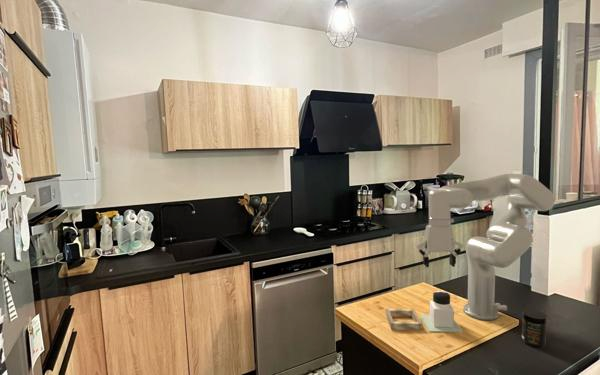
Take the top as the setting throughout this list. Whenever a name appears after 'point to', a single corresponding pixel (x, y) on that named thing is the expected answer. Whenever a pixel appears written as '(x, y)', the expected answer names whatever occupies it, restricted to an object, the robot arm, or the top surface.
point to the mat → (431, 327)
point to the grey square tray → (403, 325)
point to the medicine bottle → (441, 310)
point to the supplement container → (534, 328)
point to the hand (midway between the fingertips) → (439, 265)
